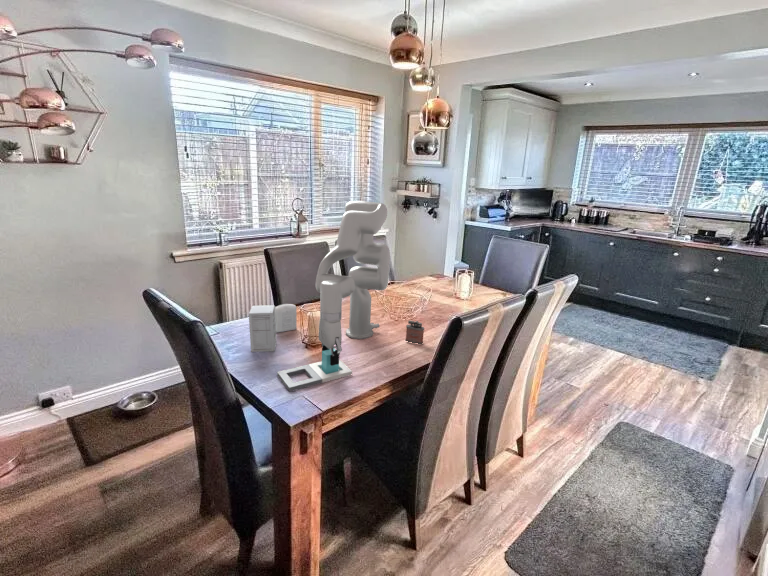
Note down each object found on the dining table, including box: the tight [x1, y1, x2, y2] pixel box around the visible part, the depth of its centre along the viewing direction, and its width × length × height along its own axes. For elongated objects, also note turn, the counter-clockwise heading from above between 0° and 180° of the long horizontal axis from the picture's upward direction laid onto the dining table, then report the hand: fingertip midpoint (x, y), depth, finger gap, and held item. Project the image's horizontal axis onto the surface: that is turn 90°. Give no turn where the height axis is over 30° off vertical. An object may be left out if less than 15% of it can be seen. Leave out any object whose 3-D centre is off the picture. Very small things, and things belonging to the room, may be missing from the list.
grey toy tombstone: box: [275, 303, 298, 333], centre depth 180 cm, size 10×4×12 cm, turn 123°
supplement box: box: [248, 304, 277, 353], centre depth 161 cm, size 10×9×17 cm
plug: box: [321, 348, 340, 374], centre depth 146 cm, size 5×4×8 cm
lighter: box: [404, 319, 425, 345], centre depth 174 cm, size 8×3×10 cm, turn 71°
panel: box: [276, 359, 353, 392], centre depth 144 cm, size 24×12×2 cm, turn 123°
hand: (330, 360), depth 146 cm, fingers open, 6 cm apart
